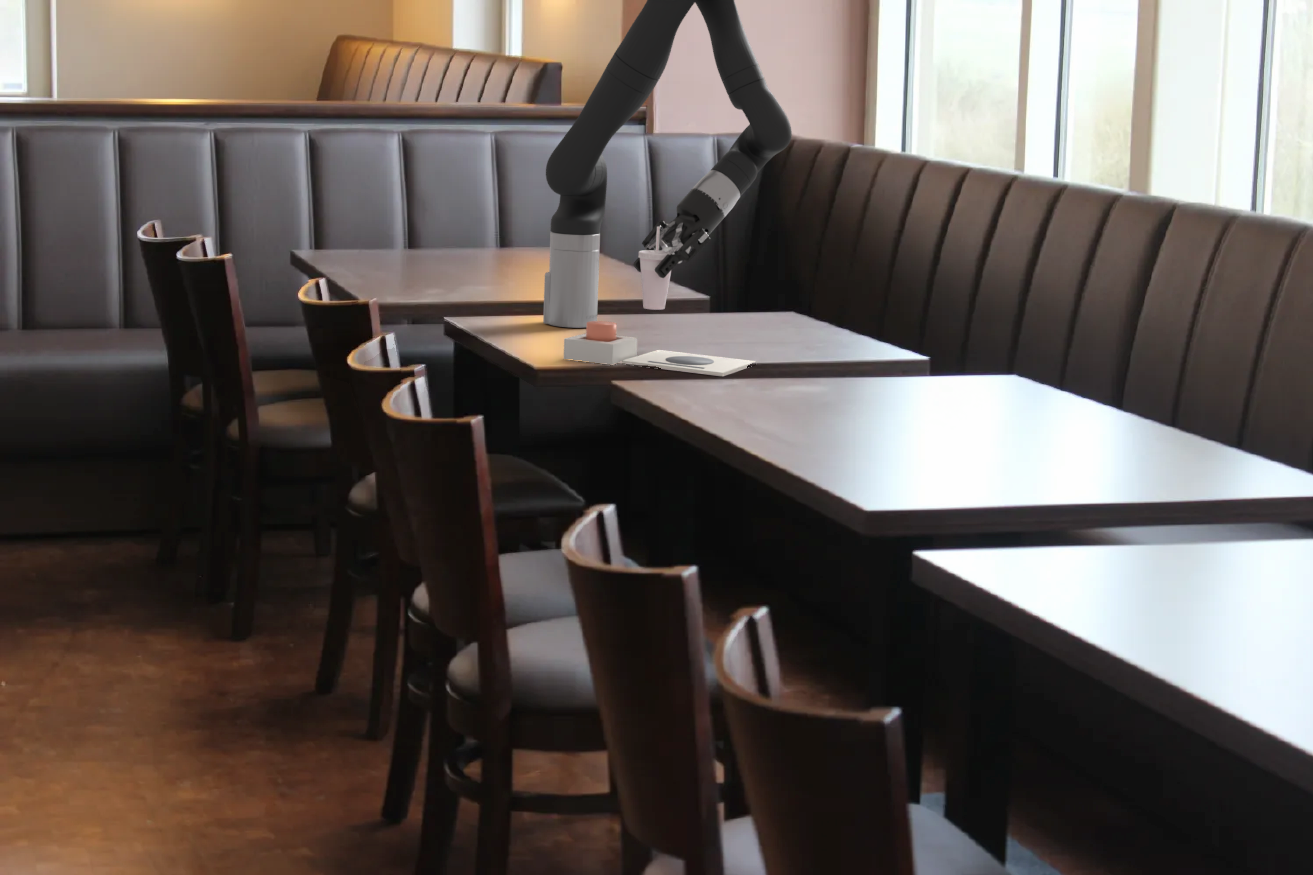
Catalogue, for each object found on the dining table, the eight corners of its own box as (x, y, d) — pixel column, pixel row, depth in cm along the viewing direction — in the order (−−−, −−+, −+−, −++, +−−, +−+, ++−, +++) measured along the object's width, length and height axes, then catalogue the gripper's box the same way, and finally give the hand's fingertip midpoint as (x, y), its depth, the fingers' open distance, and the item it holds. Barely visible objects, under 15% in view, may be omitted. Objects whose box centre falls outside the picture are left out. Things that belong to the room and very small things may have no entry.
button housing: (563, 359, 281) (564, 338, 280) (589, 352, 289) (589, 332, 288) (612, 365, 277) (613, 344, 277) (636, 358, 285) (637, 337, 284)
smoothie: (674, 306, 298) (678, 226, 295) (670, 311, 292) (675, 229, 289) (637, 304, 299) (641, 224, 296) (633, 309, 292) (637, 227, 289)
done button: (580, 344, 281) (581, 323, 281) (594, 340, 286) (595, 320, 285) (607, 347, 279) (608, 326, 279) (621, 344, 284) (622, 323, 283)
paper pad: (621, 364, 279) (622, 359, 279) (658, 353, 292) (658, 349, 292) (722, 376, 272) (722, 372, 272) (756, 364, 284) (756, 360, 284)
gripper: (674, 183, 301) (613, 251, 297) (720, 191, 289) (658, 262, 285) (697, 213, 305) (637, 281, 301) (744, 222, 293) (682, 292, 289)
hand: (647, 271), depth 293 cm, fingers closed on smoothie, 6 cm apart
